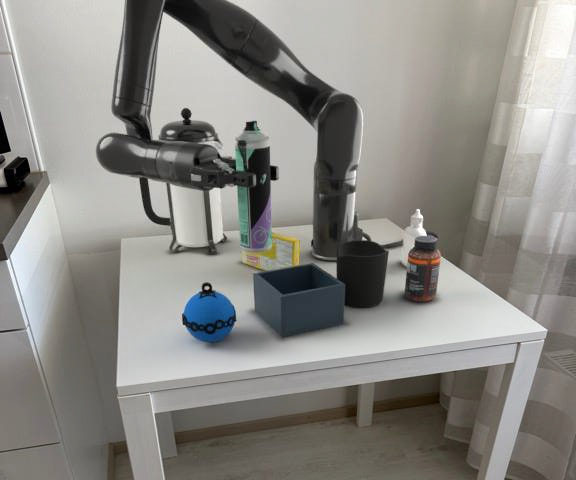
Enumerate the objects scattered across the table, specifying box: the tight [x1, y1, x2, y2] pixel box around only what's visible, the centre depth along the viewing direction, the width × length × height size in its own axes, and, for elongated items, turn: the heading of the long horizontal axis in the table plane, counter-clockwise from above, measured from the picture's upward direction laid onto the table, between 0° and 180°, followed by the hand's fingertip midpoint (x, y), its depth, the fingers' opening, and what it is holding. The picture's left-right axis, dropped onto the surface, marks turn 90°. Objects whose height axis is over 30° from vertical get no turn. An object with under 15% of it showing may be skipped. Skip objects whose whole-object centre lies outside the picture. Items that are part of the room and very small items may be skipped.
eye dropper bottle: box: [400, 208, 428, 268], centre depth 119 cm, size 4×6×12 cm
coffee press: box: [138, 107, 228, 255], centre depth 127 cm, size 17×16×30 cm
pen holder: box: [335, 239, 390, 309], centre depth 104 cm, size 9×9×10 cm
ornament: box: [181, 281, 237, 344], centre depth 90 cm, size 9×9×10 cm
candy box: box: [241, 231, 301, 271], centre depth 118 cm, size 16×2×8 cm, turn 45°
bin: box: [252, 262, 345, 339], centre depth 98 cm, size 12×12×7 cm
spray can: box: [234, 120, 273, 253], centre depth 92 cm, size 6×6×20 cm
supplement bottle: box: [404, 235, 442, 303], centre depth 104 cm, size 6×6×11 cm
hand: (266, 177), depth 89 cm, fingers closed on spray can, 5 cm apart
